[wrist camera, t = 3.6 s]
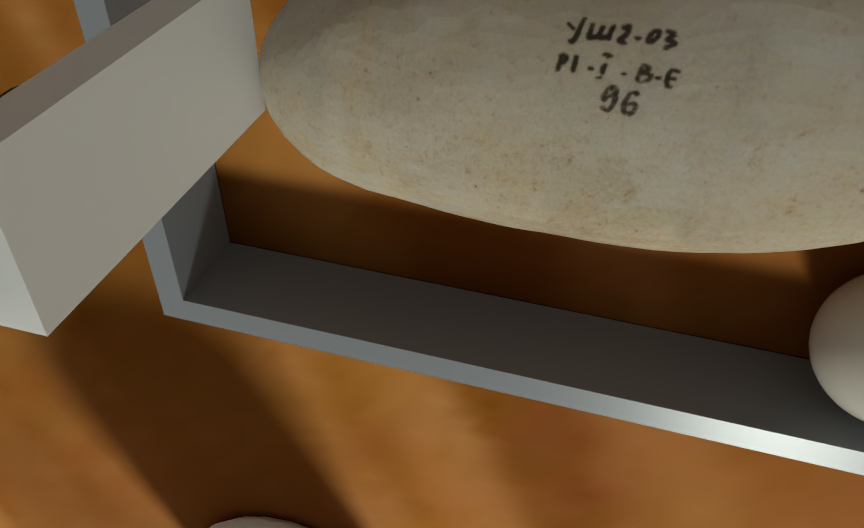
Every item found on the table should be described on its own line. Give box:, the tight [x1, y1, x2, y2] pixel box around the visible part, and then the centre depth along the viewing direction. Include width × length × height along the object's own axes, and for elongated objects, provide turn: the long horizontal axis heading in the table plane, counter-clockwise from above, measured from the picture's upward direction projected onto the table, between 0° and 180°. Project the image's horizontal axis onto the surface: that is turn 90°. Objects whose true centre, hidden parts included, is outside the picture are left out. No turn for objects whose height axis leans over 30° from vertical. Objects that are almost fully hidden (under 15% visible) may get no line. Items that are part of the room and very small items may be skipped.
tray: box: [73, 0, 864, 475], centre depth 14 cm, size 16×20×2 cm
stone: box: [259, 0, 864, 253], centre depth 13 cm, size 6×6×12 cm
